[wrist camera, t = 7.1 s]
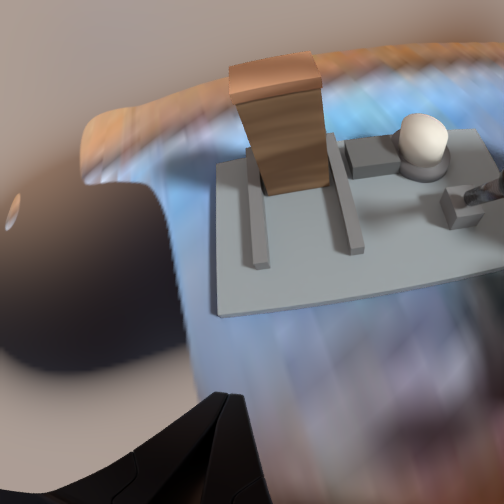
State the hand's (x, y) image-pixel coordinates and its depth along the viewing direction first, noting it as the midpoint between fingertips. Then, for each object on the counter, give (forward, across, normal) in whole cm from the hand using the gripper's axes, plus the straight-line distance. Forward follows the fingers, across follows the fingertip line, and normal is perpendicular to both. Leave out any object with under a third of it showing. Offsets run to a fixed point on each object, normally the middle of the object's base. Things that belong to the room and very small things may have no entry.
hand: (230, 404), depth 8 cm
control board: (+19, -8, -3) cm, 21 cm away
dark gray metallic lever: (+15, -14, -5) cm, 21 cm away
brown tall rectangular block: (+20, -1, -6) cm, 21 cm away
